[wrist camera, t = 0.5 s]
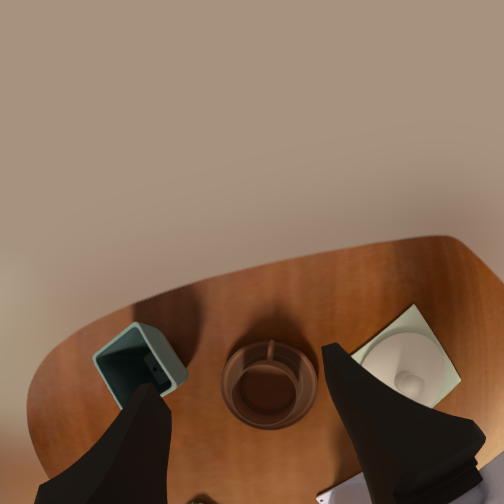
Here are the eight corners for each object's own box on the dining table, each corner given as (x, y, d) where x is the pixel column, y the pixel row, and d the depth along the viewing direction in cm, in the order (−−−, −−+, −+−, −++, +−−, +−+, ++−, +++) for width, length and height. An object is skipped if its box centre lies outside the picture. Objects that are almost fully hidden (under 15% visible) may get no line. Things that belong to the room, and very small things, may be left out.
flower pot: (169, 320, 39) (135, 319, 30) (205, 373, 36) (178, 387, 28) (128, 352, 39) (90, 356, 30) (160, 402, 36) (126, 418, 28)
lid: (455, 380, 30) (473, 387, 25) (385, 439, 30) (395, 454, 25) (413, 312, 33) (428, 311, 28) (337, 373, 33) (343, 382, 28)
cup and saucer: (215, 349, 37) (199, 355, 31) (305, 328, 36) (305, 330, 30) (237, 431, 34) (225, 449, 28) (325, 414, 33) (329, 430, 27)
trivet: (460, 379, 30) (461, 380, 29) (382, 445, 30) (382, 446, 30) (413, 304, 34) (414, 304, 33) (328, 371, 34) (329, 372, 33)
